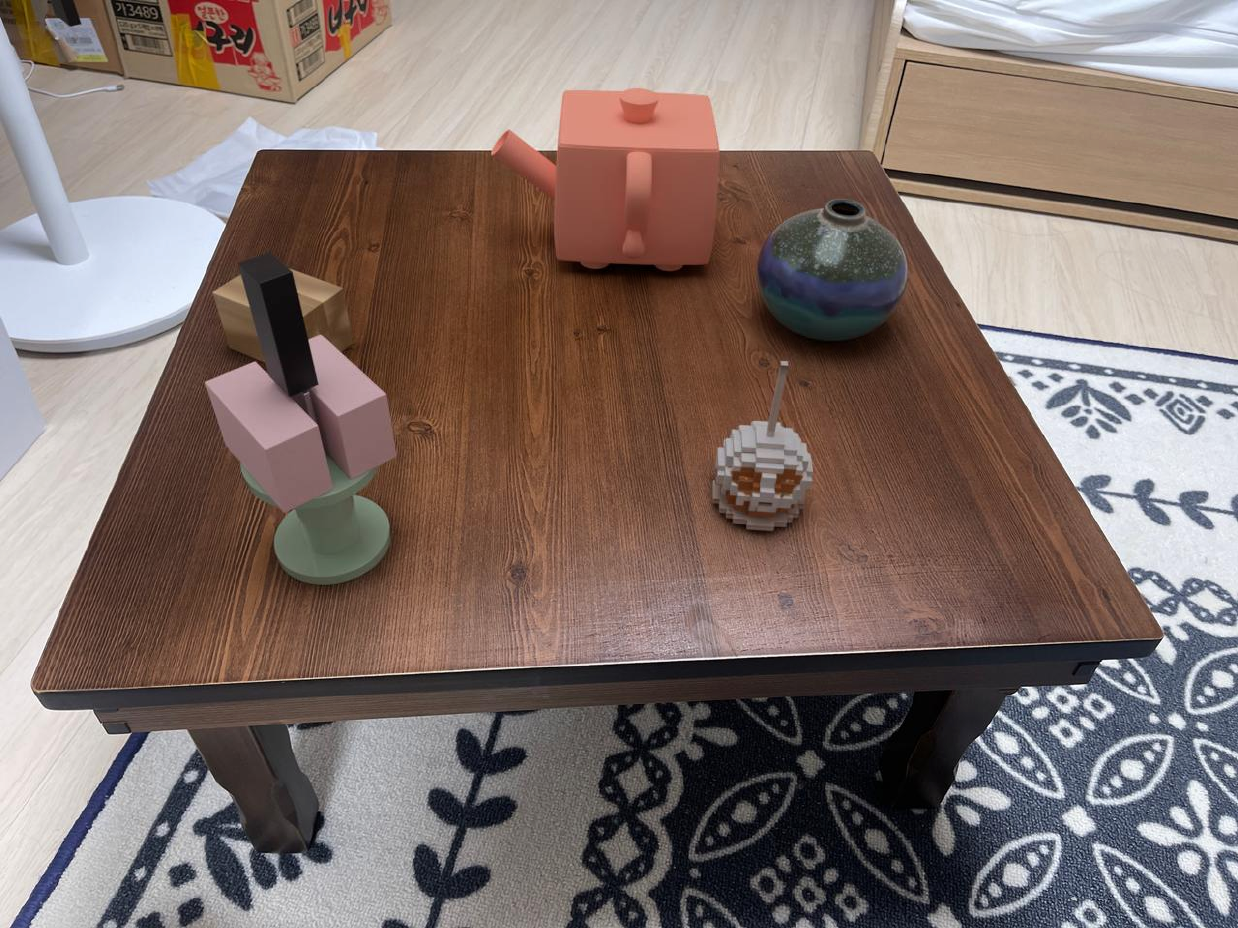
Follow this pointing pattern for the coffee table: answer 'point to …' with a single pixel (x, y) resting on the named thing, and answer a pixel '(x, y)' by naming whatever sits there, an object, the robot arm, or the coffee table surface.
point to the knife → (280, 327)
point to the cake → (303, 426)
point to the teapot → (628, 177)
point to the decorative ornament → (763, 471)
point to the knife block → (317, 304)
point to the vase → (832, 272)
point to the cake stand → (330, 531)
